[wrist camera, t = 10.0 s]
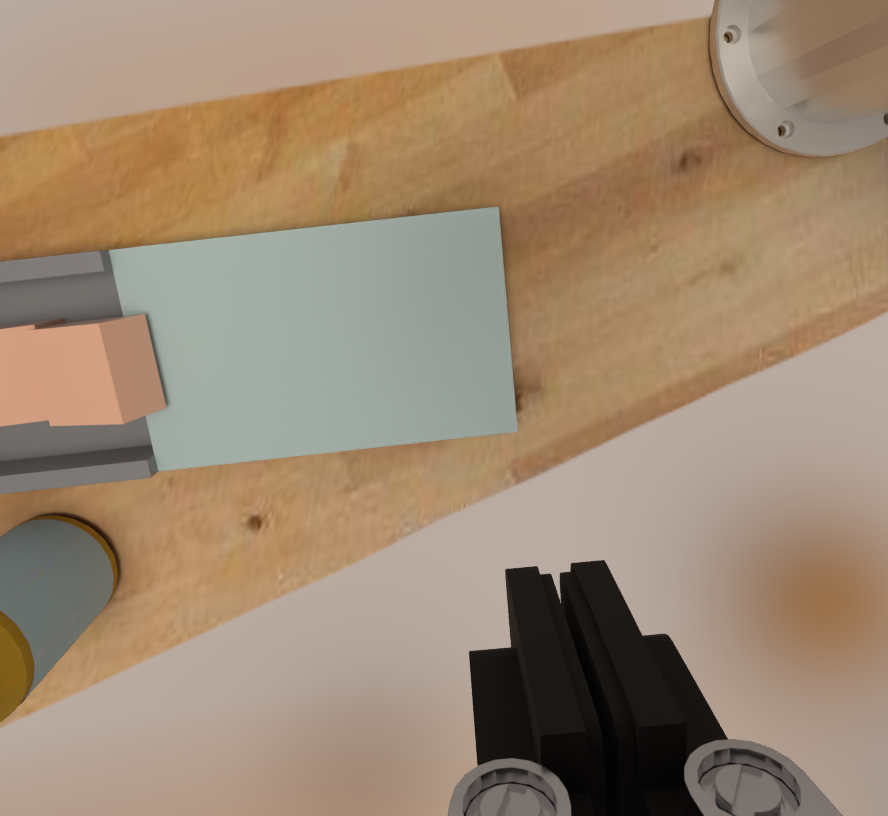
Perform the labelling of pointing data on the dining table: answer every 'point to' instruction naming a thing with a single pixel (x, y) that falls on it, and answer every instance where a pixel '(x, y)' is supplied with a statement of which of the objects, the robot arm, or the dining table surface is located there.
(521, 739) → the robot arm
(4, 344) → the tile
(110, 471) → the tray
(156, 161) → the dining table surface
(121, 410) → the tile
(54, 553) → the bottle
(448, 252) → the pale green lid panel
